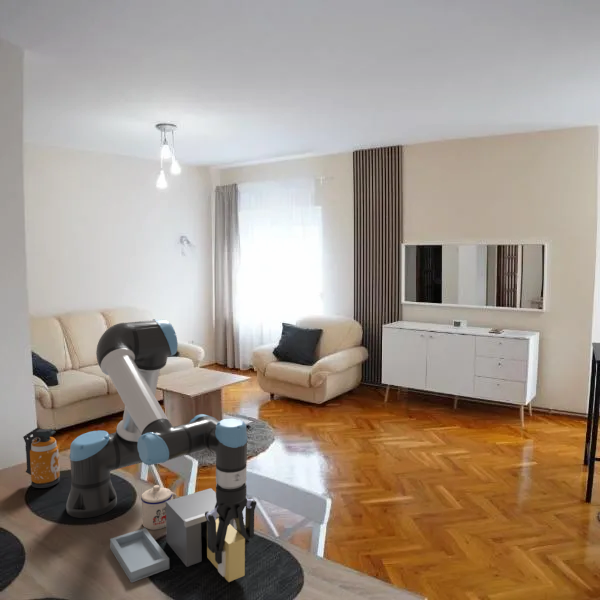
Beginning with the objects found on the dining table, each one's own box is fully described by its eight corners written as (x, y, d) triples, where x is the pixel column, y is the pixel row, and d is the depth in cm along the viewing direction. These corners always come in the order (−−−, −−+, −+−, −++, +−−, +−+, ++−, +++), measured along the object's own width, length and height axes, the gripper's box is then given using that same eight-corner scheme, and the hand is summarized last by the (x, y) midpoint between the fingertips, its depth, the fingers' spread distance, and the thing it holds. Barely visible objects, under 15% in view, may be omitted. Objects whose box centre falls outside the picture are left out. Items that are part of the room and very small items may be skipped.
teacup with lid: (154, 534, 154) (153, 496, 152) (135, 524, 159) (134, 487, 158) (186, 517, 163) (185, 481, 162) (167, 508, 169) (166, 473, 167)
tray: (110, 548, 146) (110, 538, 146) (145, 536, 152) (145, 527, 152) (131, 582, 132) (131, 572, 132) (169, 568, 138) (169, 558, 137)
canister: (52, 490, 180) (49, 433, 178) (20, 489, 180) (17, 433, 178) (64, 478, 189) (62, 424, 187) (33, 477, 189) (31, 424, 187)
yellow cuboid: (207, 557, 139) (207, 521, 138) (222, 551, 142) (222, 516, 140) (228, 582, 129) (228, 544, 128) (244, 575, 132) (244, 538, 131)
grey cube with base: (166, 542, 150) (165, 500, 148) (211, 526, 158) (210, 486, 156) (186, 566, 138) (185, 521, 137) (233, 549, 147) (233, 506, 145)
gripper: (205, 498, 122) (205, 591, 125) (269, 479, 132) (268, 565, 135) (191, 485, 128) (192, 574, 131) (254, 468, 138) (253, 550, 141)
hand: (231, 569), depth 133 cm, fingers closed on yellow cuboid, 4 cm apart
